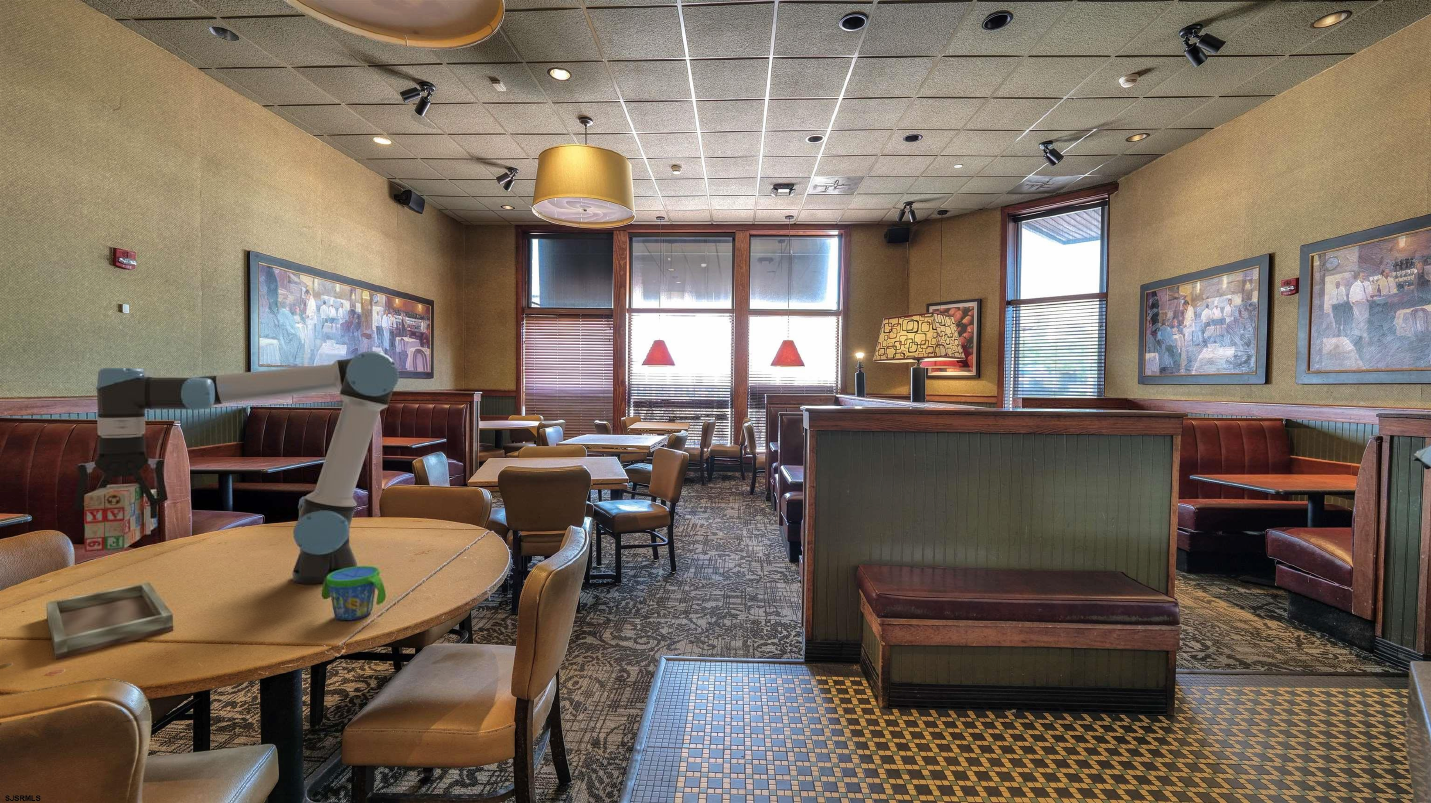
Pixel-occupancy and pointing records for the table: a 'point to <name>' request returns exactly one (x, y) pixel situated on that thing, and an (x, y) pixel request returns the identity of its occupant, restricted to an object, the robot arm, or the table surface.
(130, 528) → the stack of blocks
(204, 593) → the table surface
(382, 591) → the snack cup
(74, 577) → the table surface
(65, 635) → the grey rectangular tray
